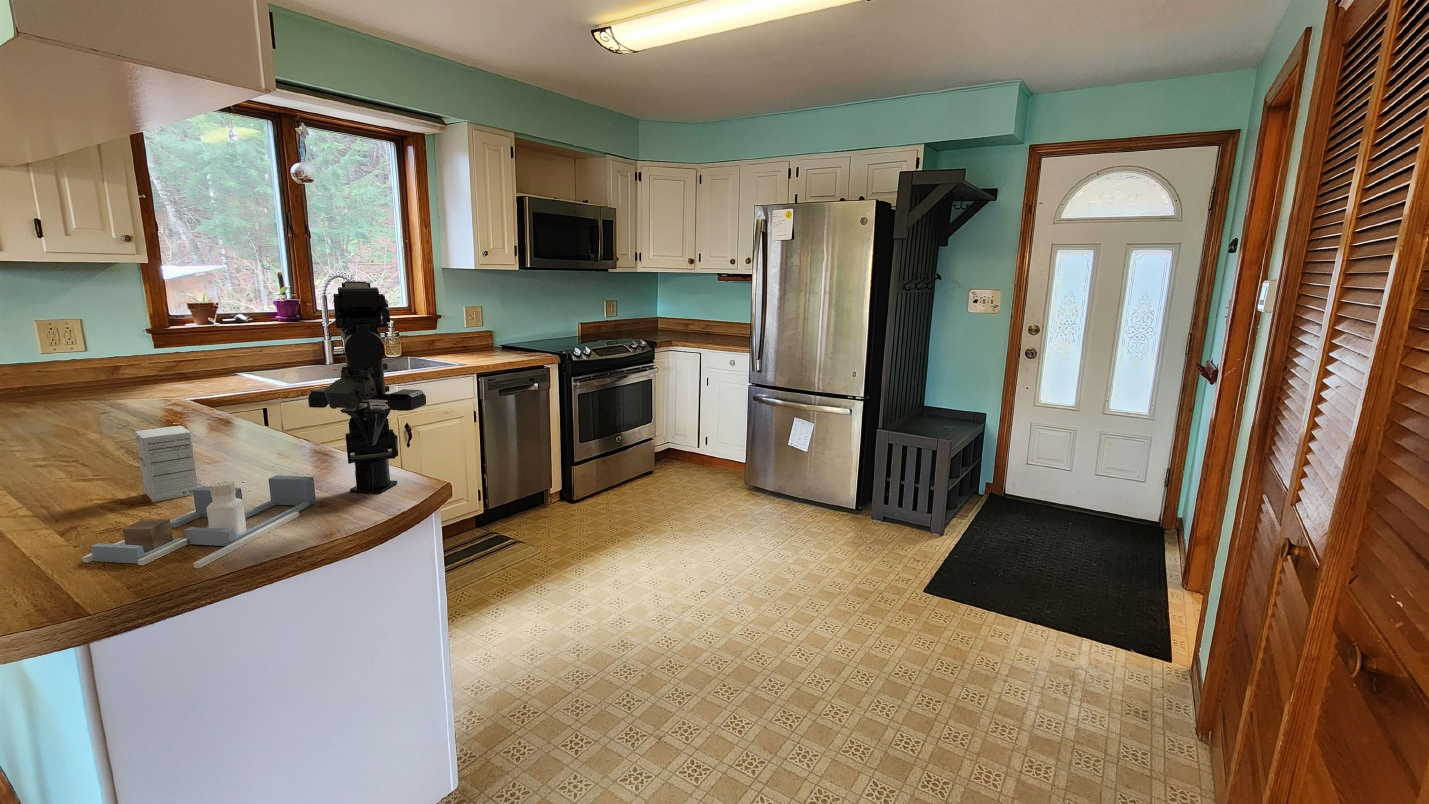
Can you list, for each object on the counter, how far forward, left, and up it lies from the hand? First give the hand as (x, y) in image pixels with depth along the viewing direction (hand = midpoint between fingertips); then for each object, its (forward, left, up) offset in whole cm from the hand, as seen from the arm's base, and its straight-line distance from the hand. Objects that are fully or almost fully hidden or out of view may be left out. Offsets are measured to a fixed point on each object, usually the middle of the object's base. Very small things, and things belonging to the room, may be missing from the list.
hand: (372, 445), depth 116 cm
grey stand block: (+8, -17, -12) cm, 23 cm away
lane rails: (+15, -21, -12) cm, 29 cm away
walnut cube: (+19, -26, -13) cm, 34 cm away
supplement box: (-4, -44, -13) cm, 46 cm away
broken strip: (+15, -26, -12) cm, 32 cm away
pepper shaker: (+15, -16, -13) cm, 25 cm away
